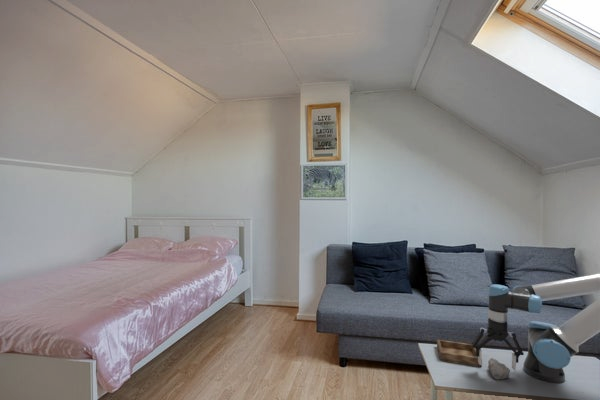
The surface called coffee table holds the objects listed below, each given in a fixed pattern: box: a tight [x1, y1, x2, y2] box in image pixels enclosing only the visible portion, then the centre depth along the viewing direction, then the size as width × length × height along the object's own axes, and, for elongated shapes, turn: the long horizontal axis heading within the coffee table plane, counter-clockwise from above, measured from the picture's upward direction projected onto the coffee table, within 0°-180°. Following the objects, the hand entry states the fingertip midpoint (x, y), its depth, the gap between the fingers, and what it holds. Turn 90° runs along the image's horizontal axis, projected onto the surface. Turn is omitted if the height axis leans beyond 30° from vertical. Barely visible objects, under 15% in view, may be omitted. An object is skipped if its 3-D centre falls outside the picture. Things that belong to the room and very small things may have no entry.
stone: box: [487, 357, 511, 380], centre depth 144 cm, size 10×8×6 cm
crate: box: [436, 339, 483, 368], centre depth 161 cm, size 18×16×4 cm
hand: (496, 366), depth 143 cm, fingers open, 13 cm apart
